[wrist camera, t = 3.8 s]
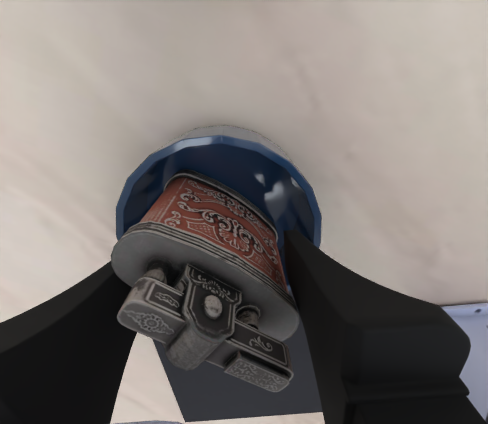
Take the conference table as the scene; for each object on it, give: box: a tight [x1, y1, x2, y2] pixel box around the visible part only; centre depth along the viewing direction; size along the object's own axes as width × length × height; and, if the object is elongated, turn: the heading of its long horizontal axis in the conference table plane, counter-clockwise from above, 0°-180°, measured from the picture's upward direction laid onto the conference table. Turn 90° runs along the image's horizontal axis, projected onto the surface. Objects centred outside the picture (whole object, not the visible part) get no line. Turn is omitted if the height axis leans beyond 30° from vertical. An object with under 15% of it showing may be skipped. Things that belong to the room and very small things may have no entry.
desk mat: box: [153, 290, 323, 422], centre depth 23 cm, size 16×20×1 cm
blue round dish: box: [116, 125, 322, 291], centre depth 15 cm, size 11×11×4 cm
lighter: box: [111, 169, 299, 392], centre depth 12 cm, size 8×3×10 cm, turn 54°
